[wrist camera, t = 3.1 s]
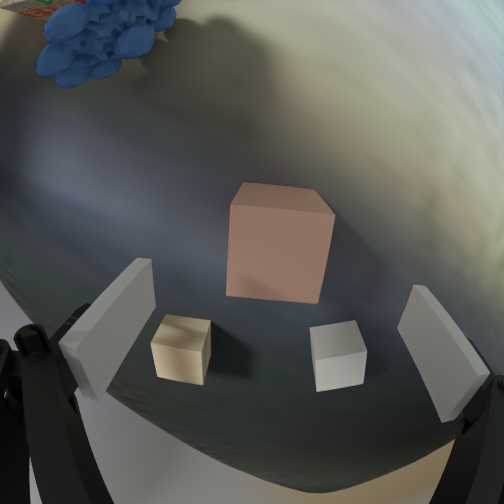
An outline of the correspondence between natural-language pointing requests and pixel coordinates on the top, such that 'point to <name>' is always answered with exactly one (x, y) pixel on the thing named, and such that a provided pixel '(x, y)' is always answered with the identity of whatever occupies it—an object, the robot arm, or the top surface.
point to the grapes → (100, 37)
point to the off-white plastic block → (338, 355)
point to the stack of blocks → (36, 7)
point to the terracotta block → (278, 243)
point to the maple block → (182, 348)
